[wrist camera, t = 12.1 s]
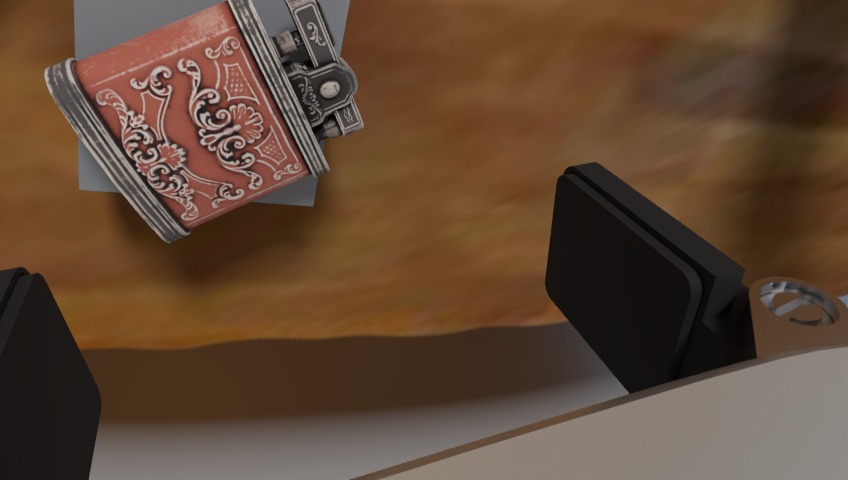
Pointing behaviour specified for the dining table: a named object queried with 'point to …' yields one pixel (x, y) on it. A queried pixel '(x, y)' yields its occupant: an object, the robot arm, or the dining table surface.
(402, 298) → the dining table surface
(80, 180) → the gray block
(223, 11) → the lighter
